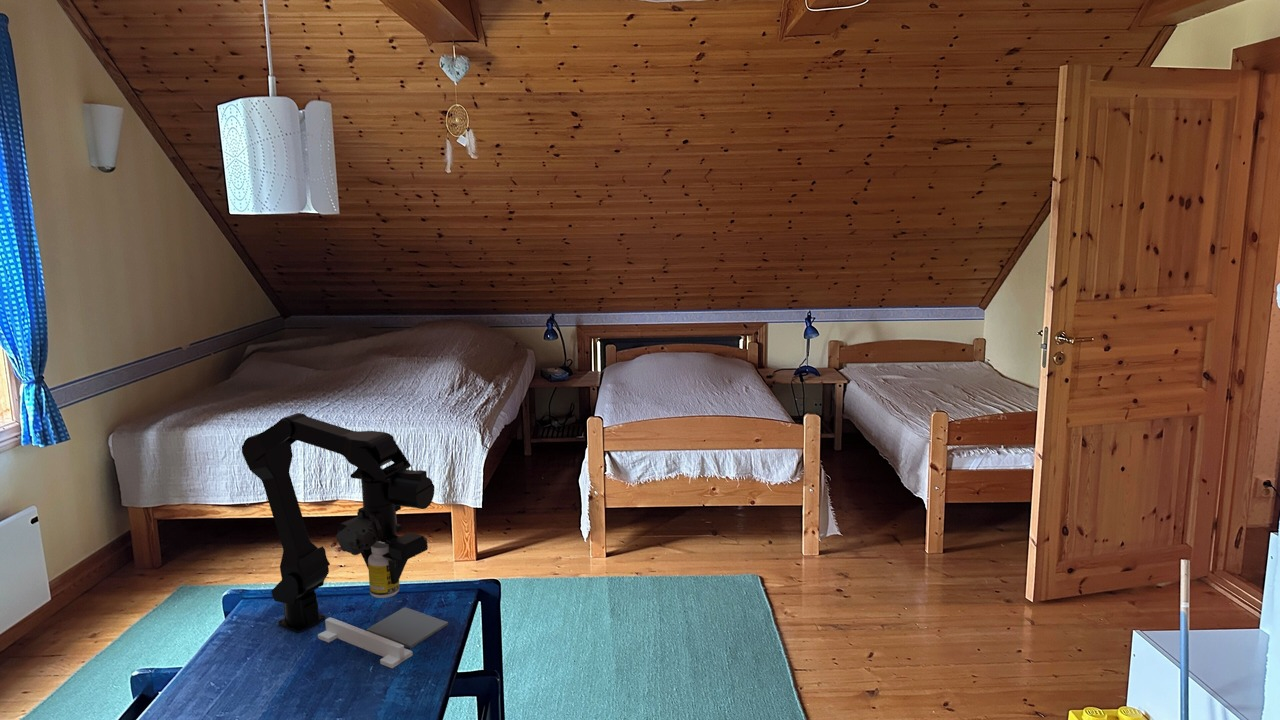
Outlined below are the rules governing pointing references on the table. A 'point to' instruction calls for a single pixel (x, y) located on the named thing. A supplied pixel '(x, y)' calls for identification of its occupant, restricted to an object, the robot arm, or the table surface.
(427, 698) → the table surface
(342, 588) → the table surface
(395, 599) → the table surface
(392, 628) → the slate mat
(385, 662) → the white barrier
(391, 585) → the supplement bottle
